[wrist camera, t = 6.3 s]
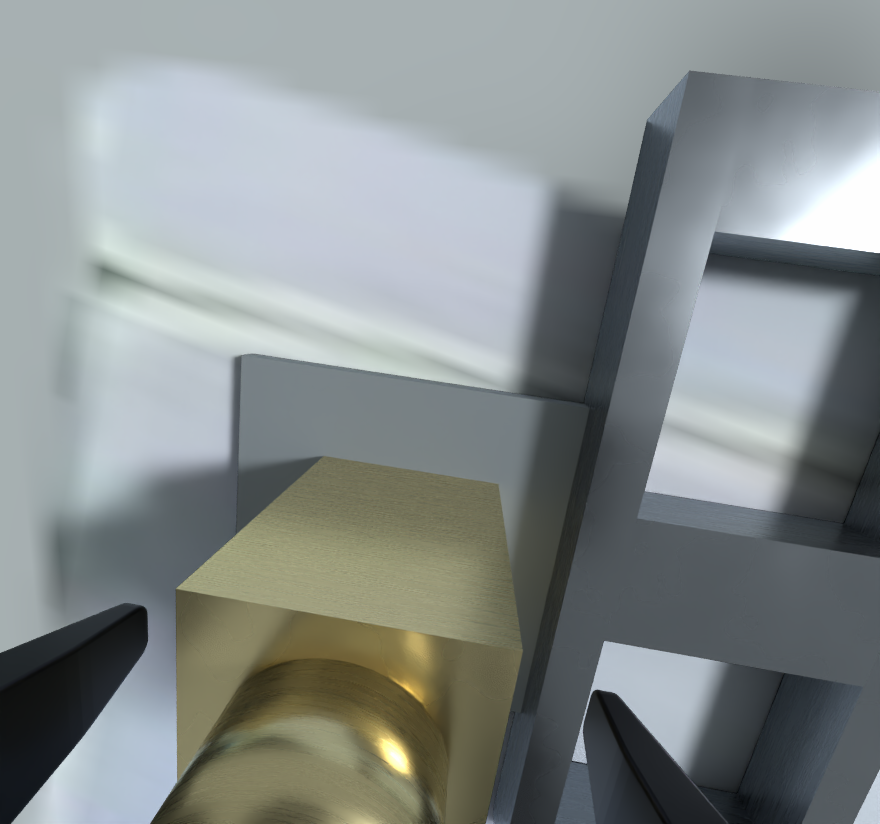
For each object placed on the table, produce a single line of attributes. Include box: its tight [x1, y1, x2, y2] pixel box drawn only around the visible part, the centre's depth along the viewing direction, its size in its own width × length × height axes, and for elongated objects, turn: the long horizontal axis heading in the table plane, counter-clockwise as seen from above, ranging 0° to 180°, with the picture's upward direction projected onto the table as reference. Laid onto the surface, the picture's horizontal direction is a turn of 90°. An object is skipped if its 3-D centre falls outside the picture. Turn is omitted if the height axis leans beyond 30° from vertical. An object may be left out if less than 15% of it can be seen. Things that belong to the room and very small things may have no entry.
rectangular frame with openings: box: [493, 71, 880, 824], centre depth 11 cm, size 22×9×2 cm, turn 172°
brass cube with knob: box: [150, 456, 523, 824], centre depth 8 cm, size 5×5×8 cm
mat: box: [236, 354, 590, 713], centre depth 13 cm, size 10×10×1 cm
